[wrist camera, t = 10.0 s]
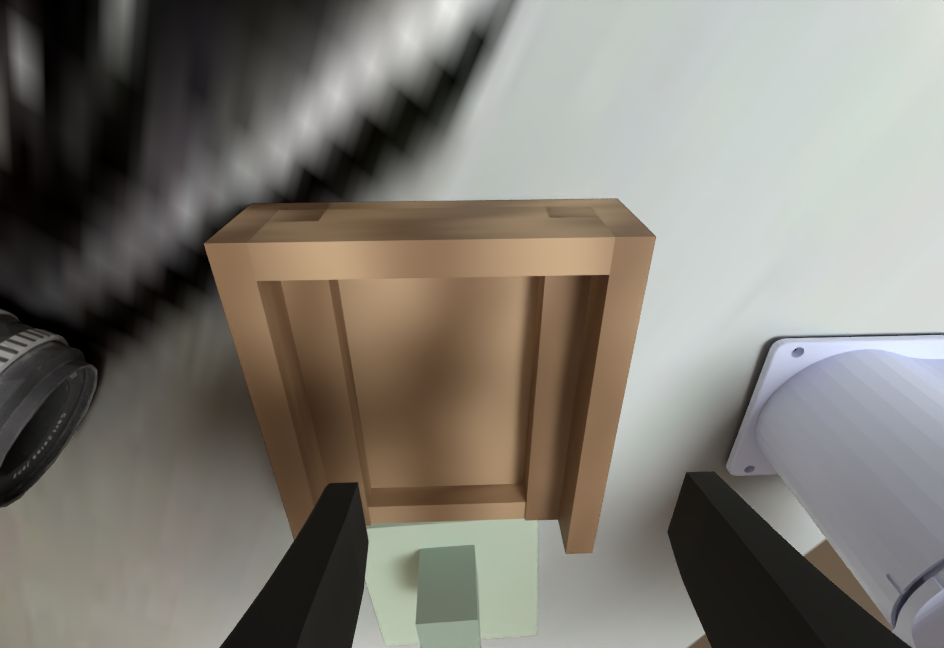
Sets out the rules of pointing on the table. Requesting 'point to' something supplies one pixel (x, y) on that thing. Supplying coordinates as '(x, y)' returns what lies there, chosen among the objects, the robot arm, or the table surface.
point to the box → (438, 352)
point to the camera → (37, 402)
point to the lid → (453, 581)
